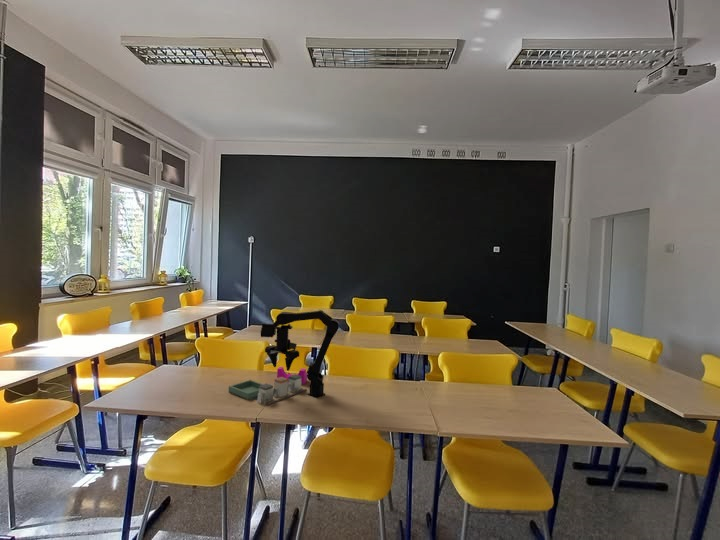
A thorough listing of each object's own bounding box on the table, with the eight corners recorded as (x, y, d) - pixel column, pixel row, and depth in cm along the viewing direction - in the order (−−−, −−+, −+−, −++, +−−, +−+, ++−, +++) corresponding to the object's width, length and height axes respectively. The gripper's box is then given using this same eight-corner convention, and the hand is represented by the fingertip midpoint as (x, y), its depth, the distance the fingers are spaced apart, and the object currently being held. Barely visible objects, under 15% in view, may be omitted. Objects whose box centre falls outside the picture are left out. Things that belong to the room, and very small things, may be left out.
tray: (269, 392, 180) (269, 386, 180) (247, 400, 170) (248, 393, 170) (250, 385, 189) (250, 379, 189) (228, 392, 178) (228, 386, 178)
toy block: (306, 381, 200) (307, 367, 200) (303, 384, 194) (304, 371, 194) (280, 378, 202) (281, 365, 202) (276, 382, 196) (277, 368, 196)
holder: (306, 390, 186) (307, 376, 185) (266, 405, 164) (267, 390, 164) (292, 385, 192) (292, 372, 192) (251, 399, 170) (252, 385, 170)
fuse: (287, 394, 178) (287, 378, 178) (280, 397, 175) (280, 381, 174) (280, 392, 181) (281, 376, 181) (273, 395, 177) (274, 379, 177)
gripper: (307, 337, 180) (306, 368, 181) (281, 332, 191) (280, 361, 191) (291, 341, 171) (290, 374, 172) (264, 335, 181) (263, 366, 182)
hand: (281, 368), depth 179 cm, fingers open, 9 cm apart
